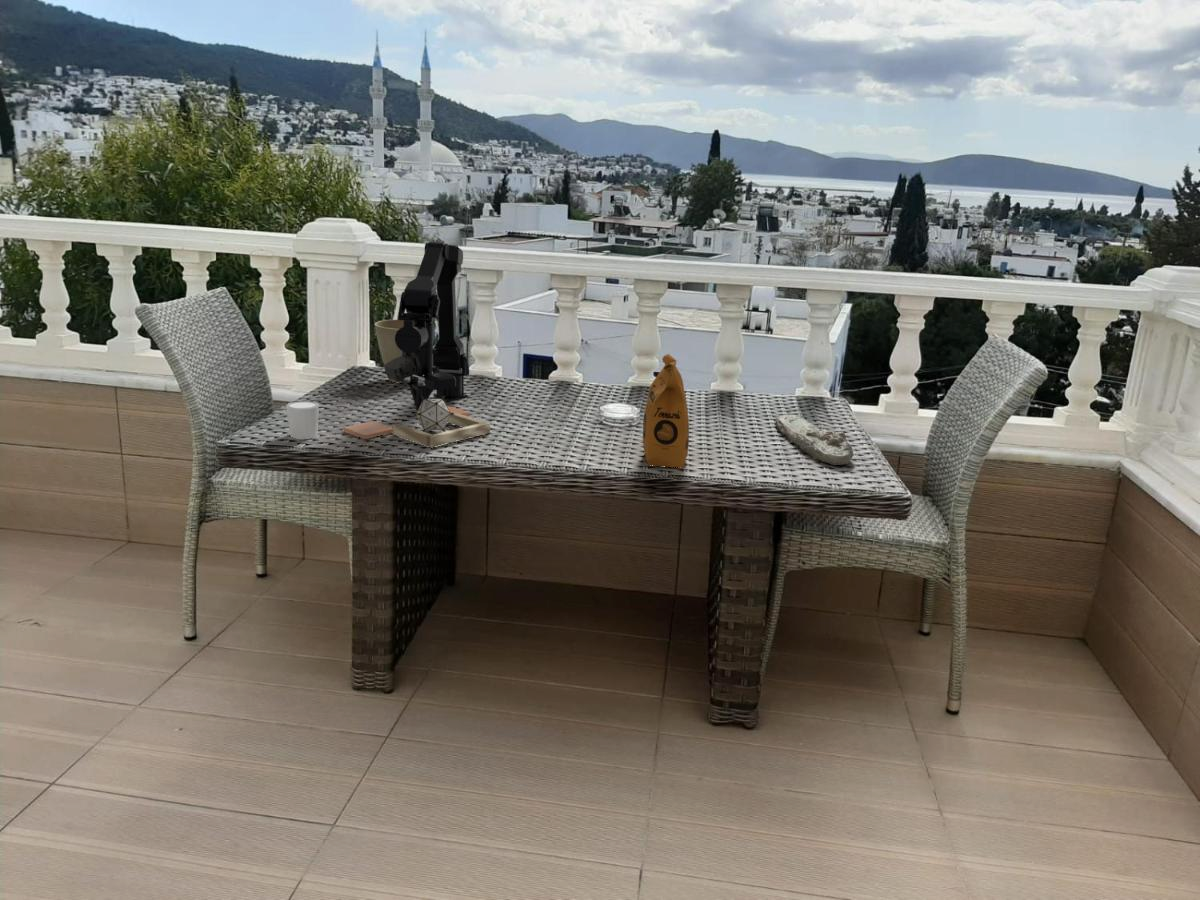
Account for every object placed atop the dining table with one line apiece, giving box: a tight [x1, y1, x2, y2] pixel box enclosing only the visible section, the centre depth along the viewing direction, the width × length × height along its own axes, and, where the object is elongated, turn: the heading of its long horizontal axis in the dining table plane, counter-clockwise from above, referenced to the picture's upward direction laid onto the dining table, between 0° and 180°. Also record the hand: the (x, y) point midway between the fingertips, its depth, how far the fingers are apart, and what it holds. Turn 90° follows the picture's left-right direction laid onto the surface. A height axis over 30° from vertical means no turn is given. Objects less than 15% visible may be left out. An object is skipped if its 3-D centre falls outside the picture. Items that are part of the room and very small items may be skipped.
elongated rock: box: [774, 414, 854, 466], centre depth 208 cm, size 35×5×10 cm
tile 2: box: [447, 405, 470, 417], centre depth 217 cm, size 8×8×1 cm
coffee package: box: [642, 353, 690, 469], centre depth 188 cm, size 10×12×22 cm
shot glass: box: [285, 400, 320, 440], centre depth 195 cm, size 7×7×7 cm
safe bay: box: [392, 412, 491, 447], centre depth 201 cm, size 17×13×2 cm
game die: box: [412, 396, 455, 432], centre depth 202 cm, size 9×8×10 cm
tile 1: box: [342, 421, 394, 440], centre depth 201 cm, size 8×8×1 cm
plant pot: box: [374, 319, 404, 384], centre depth 247 cm, size 15×15×16 cm
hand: (419, 411), depth 205 cm, fingers closed
